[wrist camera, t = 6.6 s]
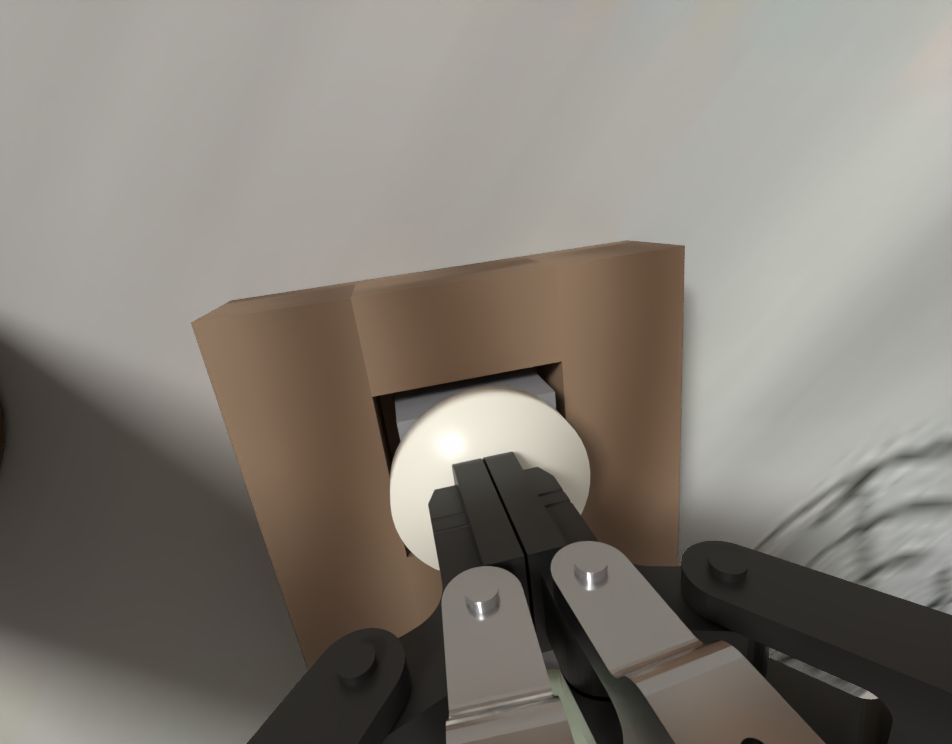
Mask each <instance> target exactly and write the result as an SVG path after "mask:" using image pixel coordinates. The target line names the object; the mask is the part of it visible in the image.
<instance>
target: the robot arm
mask: <svg viewBox="0 0 952 744" xmlns="http://www.w3.org/2000/svg"><path fill="white" fill-rule="evenodd" d="M452 471H453V477H454V483H455V485H453V486H449V487H444V488H440V489H435V490H434V492H433V494H432V496H431V499H430V501H429V503H428V507H429V513H430V519H431V524H432V530H433V535H434V541H435V546H436V552H437V558H438V563H439V569H440V574H441V580H442V588H443V590H442V596H441V599H440V602H439V604H438V606H437V608H436V609H435V611H434V612H433V613H432V615H431V616H430V617H429V618H428V619H427V620H426V621H424V622H423V623H422V624H421V625H419V626H418V627H416V628H415V629H413V630H411V631H410V632H408V633H406V634H404V635H403V636H401V637H399V638H397V637H396V636H395V635H394V634H393V633H391V632H389V631H387V630H384V629H380V628H365V629H360V630H357V631H354V632H351V633H349V634H347V635H345V636H343V637H341V638H340V639H338V640H337V641H335V642H334V643H333V644H332V645H331V646H329V647H328V648H327V649H326V650H325V652H324V653H323V654H322V655H321V656H320V657H319V658H318V660H317V661H316V662H315V663H314V664H313V666H312V667H311V668H310V669H309V670H308V672H307V673H306V674H305V675H304V676H303V677H302V679H301V680H300V681H299V682H298V683H297V685H296V686H295V687H294V688H293V689H292V691H291V692H290V693H289V694H288V695H287V696H286V698H285V699H284V700H283V701H282V702H281V704H280V705H279V706H278V707H277V708H276V710H275V711H274V712H273V713H272V714H271V715H270V717H269V718H268V719H267V720H266V721H265V723H264V724H263V725H262V726H261V727H260V729H259V730H258V731H257V732H256V733H255V735H254V736H253V737H252V738H251V739H250V740H249V742H248V743H247V744H575V742H574V739H573V736H572V732H571V729H570V726H569V723H568V719H567V716H566V713H565V710H564V707H563V704H562V702H561V700H560V698H559V696H558V695H556V696H554V693H553V691H552V688H551V684H550V681H549V677H548V674H547V670H546V667H545V664H544V660H543V657H542V653H544V652H548V651H551V650H553V652H554V654H555V657H556V659H557V661H558V664H559V669H560V680H561V687H562V690H563V693H564V695H565V698H566V700H567V702H568V704H569V706H570V708H571V710H572V712H573V714H574V716H575V718H576V720H577V723H578V725H579V727H580V729H581V731H582V733H583V735H584V737H585V739H586V741H587V743H588V744H952V615H949V614H946V613H943V612H940V611H937V610H934V609H931V608H928V607H925V606H922V605H919V604H916V603H913V602H910V601H907V600H904V599H901V598H898V597H895V596H892V595H889V594H885V593H882V592H879V591H876V590H873V589H870V588H867V587H864V586H861V585H858V584H855V583H852V582H849V581H846V580H843V579H840V578H837V577H834V576H831V575H828V574H825V573H822V572H819V571H816V570H813V569H810V568H806V567H803V566H800V565H797V564H794V563H791V562H788V561H785V560H782V559H779V558H776V557H773V556H770V555H767V554H764V553H761V552H758V551H755V550H752V549H749V548H746V547H743V546H740V545H736V544H733V543H728V542H722V541H706V542H701V543H698V544H695V545H693V546H691V547H690V548H688V549H687V550H686V551H685V553H684V554H683V557H682V565H681V566H643V565H637V564H632V563H631V562H630V561H629V559H628V558H627V557H626V556H625V555H624V554H623V553H622V552H620V551H619V550H618V549H616V548H614V547H612V546H610V545H607V544H605V543H601V542H599V541H598V540H597V538H596V537H595V535H594V534H593V532H592V531H591V529H590V528H589V527H588V525H587V524H586V522H585V521H584V519H583V518H582V516H581V515H580V513H579V512H578V511H577V509H576V508H575V506H574V505H573V503H571V502H570V499H569V497H568V496H567V495H566V493H565V492H563V489H562V487H561V486H560V484H559V483H558V481H557V480H556V478H555V477H554V476H553V475H551V474H550V473H548V472H546V471H544V470H543V469H541V468H539V467H534V468H530V469H525V470H523V468H522V466H521V465H520V463H519V461H518V460H517V458H516V456H515V454H514V453H513V452H512V451H511V452H507V453H502V454H497V455H493V456H488V457H483V460H482V459H481V458H479V459H475V460H470V461H465V462H461V463H456V464H452ZM769 647H770V648H773V649H775V650H777V651H779V652H782V653H784V654H786V655H789V656H791V657H793V658H795V659H798V660H800V661H802V662H805V663H807V664H809V665H811V666H814V667H816V668H818V669H821V670H823V671H825V672H827V673H830V674H832V675H834V676H837V677H839V678H841V679H843V680H846V681H848V682H850V683H852V684H855V685H857V686H859V687H862V688H864V689H866V690H868V691H869V692H871V693H873V694H874V695H875V696H877V697H878V699H872V700H870V699H862V698H859V697H856V696H853V695H851V694H849V693H846V692H844V691H842V690H840V689H838V688H835V687H833V686H831V685H829V684H826V683H824V682H822V681H820V680H818V679H815V678H813V677H811V676H809V675H806V674H804V673H802V672H800V671H798V670H795V669H793V668H791V667H789V666H786V665H784V664H782V663H780V662H778V661H775V660H773V659H771V658H769V657H768V655H769Z"/></svg>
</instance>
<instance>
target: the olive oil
mask: <svg viewBox="0 0 952 744" xmlns="http://www.w3.org/2000/svg"><path fill="white" fill-rule="evenodd" d="M3 449H4V422H3V415H2V410H1V405H0V464H1V460H2V455H3Z"/></svg>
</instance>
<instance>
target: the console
mask: <svg viewBox="0 0 952 744" xmlns="http://www.w3.org/2000/svg"><path fill="white" fill-rule="evenodd" d="M684 256H685V246H682V245H671V244H660V243H649V242H638V241H621V242H615V243H608V244H601V245H595V246H588V247H582V248H575V249H568V250H562V251H555V252H549V253H542V254H536V255H529V256H522V257H516V258H509V259H503V260H496V261H489V262H483V263H476V264H470V265H463V266H456V267H450V268H443V269H437V270H430V271H423V272H417V273H410V274H404V275H397V276H391V277H384V278H377V279H371V280H364V281H358V282H351V283H344V284H338V285H331V286H325V287H318V288H311V289H305V290H298V291H292V292H285V293H278V294H272V295H265V296H259V297H252V298H246V299H239V300H232V301H230V302H228V303H226V304H224V305H222V306H221V307H219V308H217V309H215V310H213V311H212V312H210V313H208V314H206V315H204V316H202V317H201V318H199V319H197V320H195V321H193V322H192V323H191V325H192V327H193V330H194V333H195V336H196V339H197V342H198V345H199V348H200V351H201V354H202V357H203V360H204V363H205V366H206V369H207V372H208V375H209V378H210V381H211V384H212V387H213V390H214V393H215V396H216V399H217V402H218V405H219V408H220V411H221V414H222V416H223V419H224V422H225V425H226V428H227V431H228V434H229V437H230V440H231V443H232V446H233V449H234V452H235V455H236V458H237V461H238V464H239V467H240V470H241V473H242V476H243V479H244V482H245V485H246V488H247V491H248V494H249V497H250V500H251V503H252V505H253V508H254V511H255V514H256V517H257V520H258V523H259V526H260V529H261V532H262V535H263V538H264V541H265V544H266V547H267V550H268V553H269V556H270V559H271V562H272V565H273V568H274V571H275V574H276V577H277V580H278V583H279V586H280V589H281V592H282V594H283V597H284V600H285V603H286V606H287V609H288V612H289V615H290V618H291V621H292V624H293V627H294V630H295V633H296V636H297V639H298V642H299V645H300V648H301V651H302V654H303V657H304V660H305V663H306V666H307V669H308V670H309V669H310V668H311V667H312V666H313V664H314V663H315V662H316V661H317V660H318V658H319V657H320V656H321V655H322V654H323V653H324V652H325V650H326V649H327V648H328V647H329V646H331V645H332V644H333V643H334V642H335V641H337V640H338V639H340V638H341V637H343V636H345V635H347V634H349V633H351V632H354V631H357V630H360V629H365V628H380V629H384V630H387V631H389V632H391V633H393V634H394V635H395V636H396V637H397V638H399V637H401V636H403V635H404V634H406V633H408V632H410V631H411V630H413V629H415V628H416V627H418V626H419V625H421V624H422V623H423V622H424V621H426V620H427V619H428V618H429V617H430V616H431V615H432V613H433V612H434V611H435V609H436V608H437V606H438V604H439V602H440V599H441V596H442V590H443V588H442V580H441V574H440V571H439V570H437V569H434V568H432V567H431V566H429V565H427V564H425V563H424V562H423V561H421V560H420V559H419V558H417V557H416V556H415V555H414V554H413V553H412V552H411V551H410V550H409V549H408V548H407V547H406V545H405V544H404V542H403V541H402V539H401V538H400V536H399V534H398V532H397V530H396V528H395V524H394V521H393V518H392V513H391V505H390V471H391V465H392V461H393V458H394V455H395V452H396V449H397V447H398V445H399V443H400V437H399V432H398V427H397V420H396V408H395V396H394V393H395V392H400V391H406V390H411V389H417V388H422V387H427V386H433V385H438V384H443V383H449V382H454V381H459V380H465V379H470V378H476V377H481V376H486V375H492V374H497V373H502V372H508V371H513V370H518V369H524V368H529V367H530V368H531V369H532V370H534V371H535V372H536V373H537V374H538V375H539V376H540V377H541V378H542V379H543V380H544V381H545V382H546V383H547V384H548V385H549V386H550V387H551V388H552V389H553V390H554V391H555V400H556V410H557V411H558V412H559V413H560V414H561V416H562V417H563V418H564V419H565V420H566V421H567V422H568V423H569V424H570V425H571V427H572V428H573V429H574V430H575V431H576V433H577V434H578V436H579V437H580V439H581V440H582V443H583V445H584V447H585V449H586V452H587V456H588V459H589V466H590V487H589V494H588V497H587V501H586V504H585V507H584V509H583V512H582V514H581V516H582V518H583V519H584V521H585V522H586V524H587V525H588V527H589V528H590V529H591V531H592V532H593V534H594V535H595V537H596V538H597V540H598V541H599V542H601V543H605V544H607V545H610V546H612V547H614V548H616V549H618V550H619V551H620V552H622V553H623V554H624V555H625V556H626V557H627V558H628V559H629V561H630V562H631V563H632V564H637V565H643V566H678V531H679V485H680V439H681V394H682V348H683V302H684Z"/></svg>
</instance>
